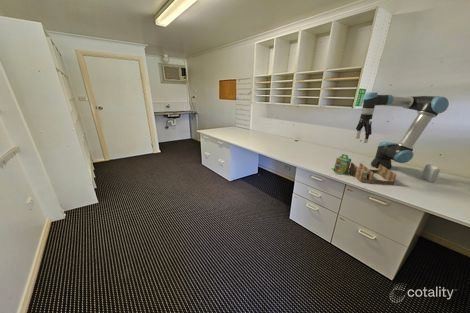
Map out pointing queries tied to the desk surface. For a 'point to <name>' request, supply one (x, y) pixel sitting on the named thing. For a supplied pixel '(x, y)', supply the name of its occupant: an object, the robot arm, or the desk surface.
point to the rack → (381, 171)
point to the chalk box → (342, 164)
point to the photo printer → (430, 173)
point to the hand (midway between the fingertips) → (361, 140)
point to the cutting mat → (341, 173)
